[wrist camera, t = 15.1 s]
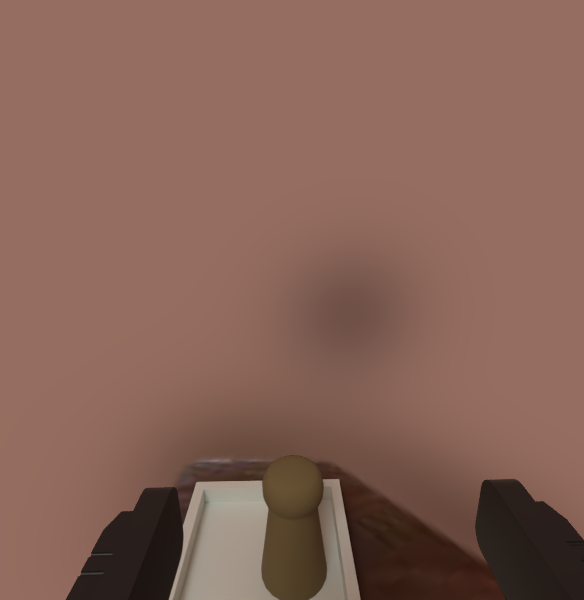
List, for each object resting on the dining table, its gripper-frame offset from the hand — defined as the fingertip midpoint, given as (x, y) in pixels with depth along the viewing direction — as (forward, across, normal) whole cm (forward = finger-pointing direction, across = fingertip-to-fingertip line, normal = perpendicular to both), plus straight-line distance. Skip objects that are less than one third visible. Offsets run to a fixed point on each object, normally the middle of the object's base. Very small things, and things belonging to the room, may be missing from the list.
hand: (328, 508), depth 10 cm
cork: (+17, +1, +26) cm, 31 cm away
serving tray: (+18, +4, +26) cm, 32 cm away
